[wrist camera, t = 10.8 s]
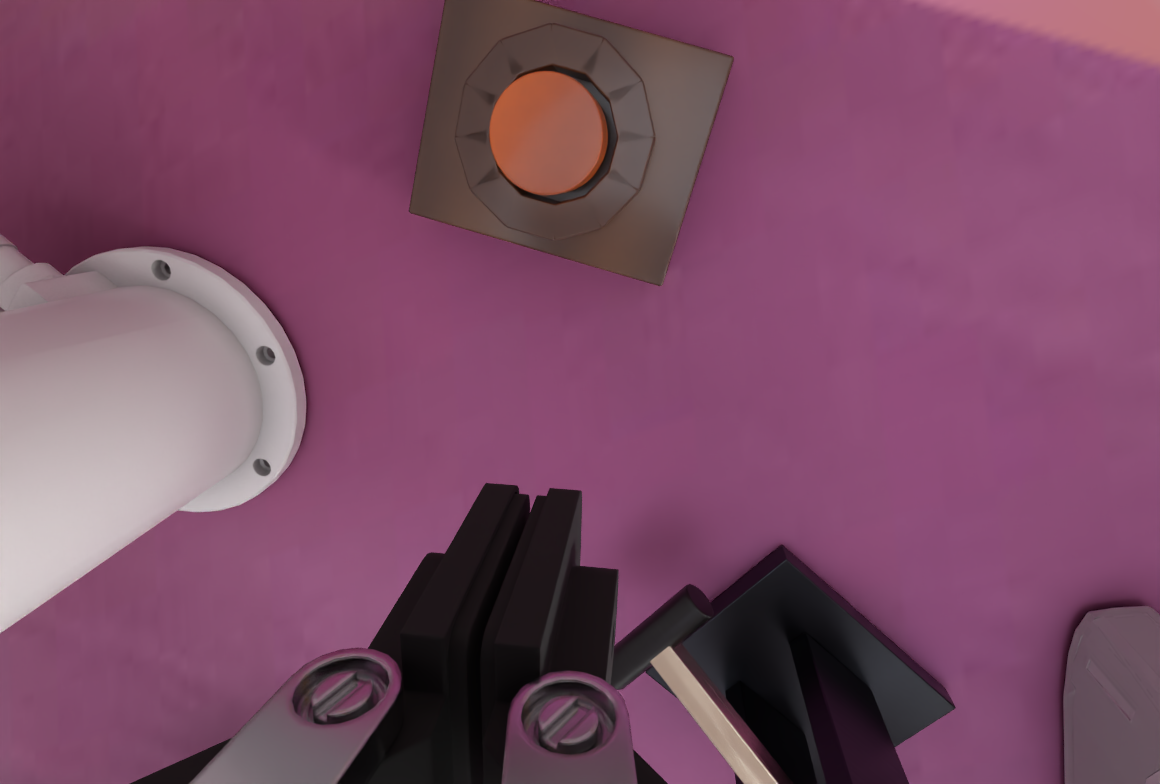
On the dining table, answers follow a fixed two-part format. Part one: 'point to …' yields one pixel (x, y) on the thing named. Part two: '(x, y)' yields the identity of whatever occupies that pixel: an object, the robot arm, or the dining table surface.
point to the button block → (634, 121)
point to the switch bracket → (813, 676)
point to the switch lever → (693, 683)
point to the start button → (548, 133)
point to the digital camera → (1113, 698)
